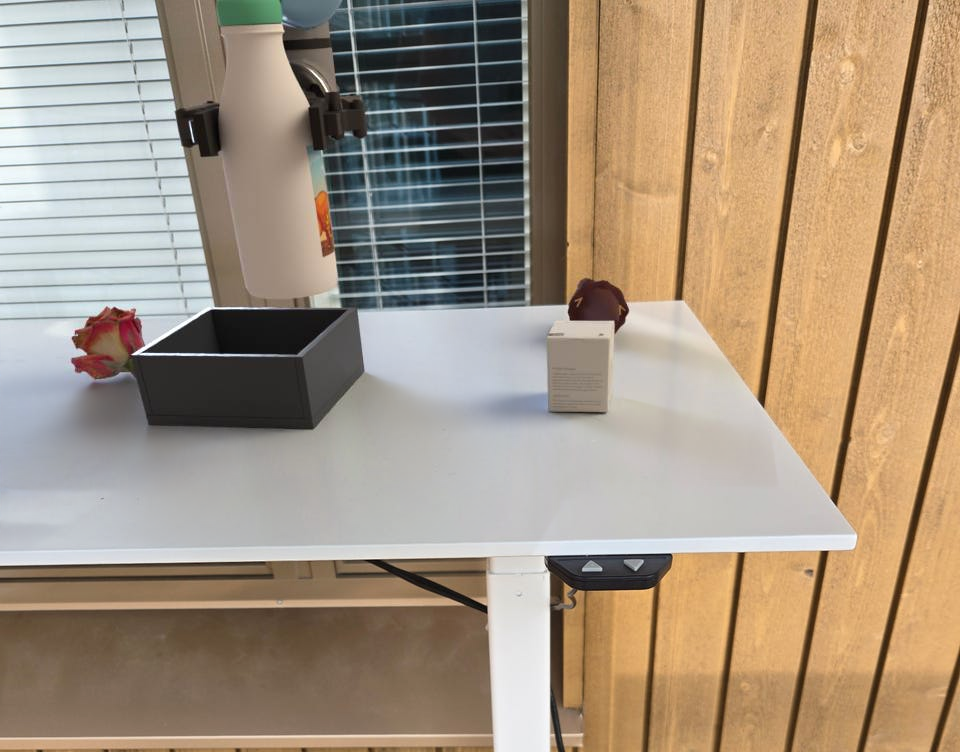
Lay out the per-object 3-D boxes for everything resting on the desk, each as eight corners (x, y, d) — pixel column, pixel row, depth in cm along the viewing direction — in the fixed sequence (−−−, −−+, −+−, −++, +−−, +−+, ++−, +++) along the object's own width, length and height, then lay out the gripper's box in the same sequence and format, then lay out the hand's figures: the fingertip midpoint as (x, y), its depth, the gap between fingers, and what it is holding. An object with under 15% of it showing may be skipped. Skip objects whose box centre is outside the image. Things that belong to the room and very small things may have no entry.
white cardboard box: (613, 393, 91) (616, 319, 87) (608, 414, 86) (611, 337, 82) (554, 391, 92) (554, 318, 88) (546, 412, 87) (545, 336, 83)
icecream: (655, 294, 98) (614, 277, 111) (592, 282, 96) (558, 266, 109) (638, 358, 101) (600, 334, 114) (577, 347, 99) (545, 325, 112)
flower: (184, 352, 103) (139, 293, 102) (143, 360, 95) (93, 295, 93) (129, 399, 107) (85, 343, 105) (85, 411, 99) (36, 350, 97)
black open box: (148, 424, 89) (129, 355, 85) (220, 369, 103) (207, 307, 99) (313, 429, 86) (302, 357, 82) (364, 371, 100) (357, 307, 96)
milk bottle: (311, 303, 71) (266, -7, 59) (228, 299, 73) (169, 0, 61) (354, 280, 76) (320, -6, 65) (276, 277, 79) (230, 1, 67)
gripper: (404, 149, 85) (405, 182, 66) (190, 161, 84) (130, 198, 66) (396, 56, 81) (395, 62, 62) (171, 68, 80) (101, 78, 61)
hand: (259, 132), depth 64 cm, fingers closed on milk bottle, 7 cm apart
